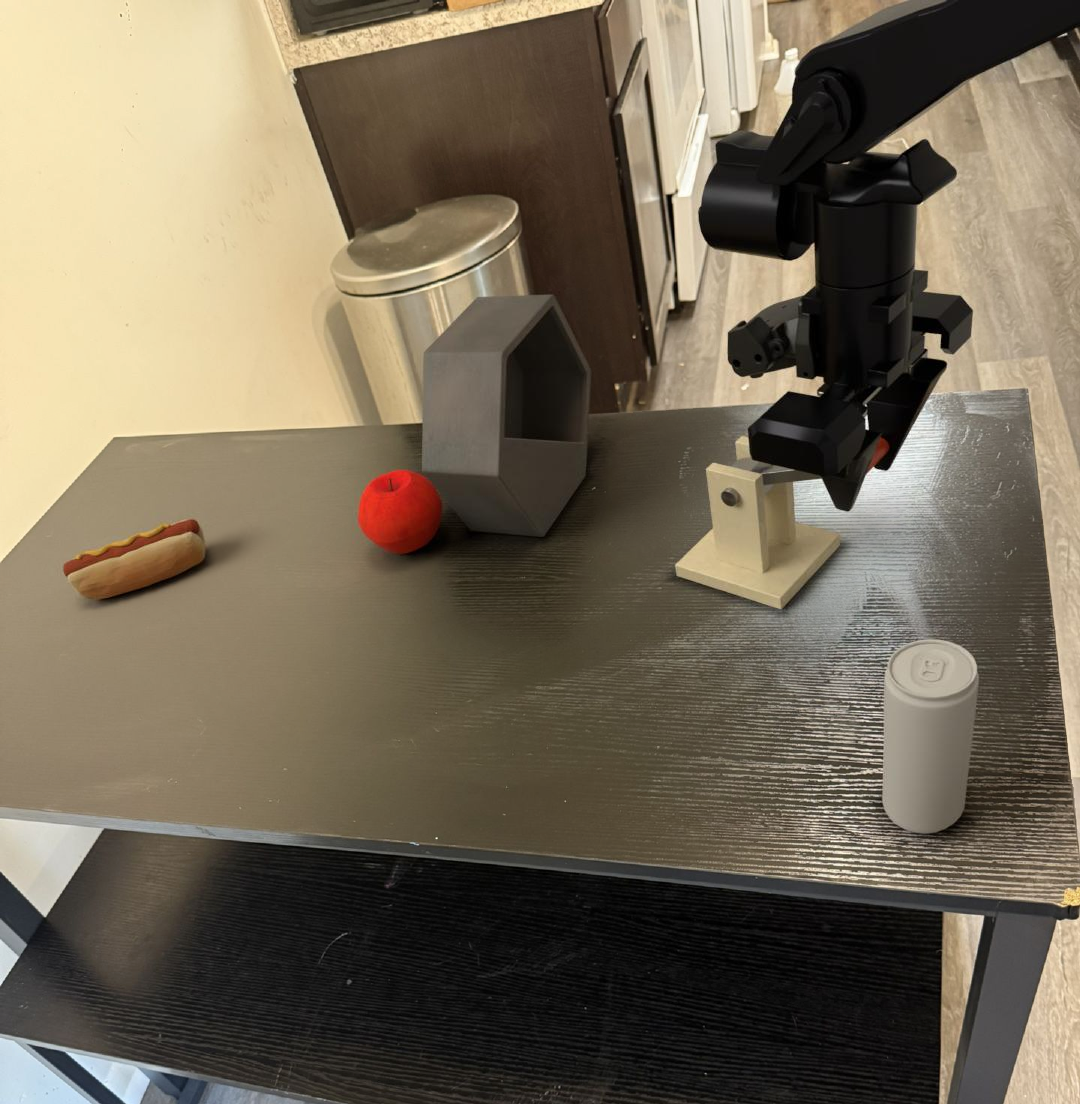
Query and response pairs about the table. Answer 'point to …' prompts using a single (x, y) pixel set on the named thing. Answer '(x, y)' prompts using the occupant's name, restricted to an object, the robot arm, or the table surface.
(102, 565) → the food
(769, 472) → the lever
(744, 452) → the bracket
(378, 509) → the apple
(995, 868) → the table surface
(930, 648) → the beverage can
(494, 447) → the planter
